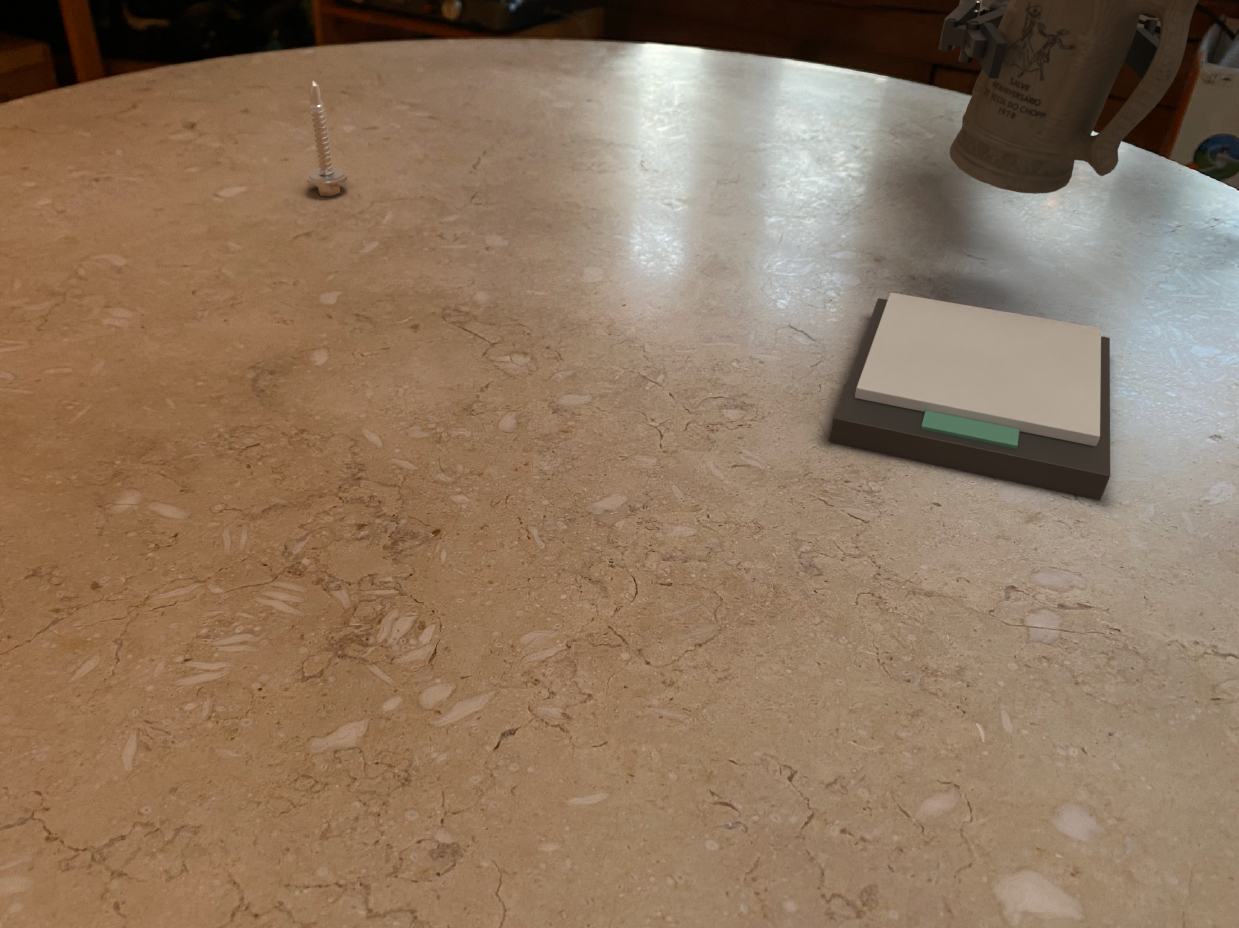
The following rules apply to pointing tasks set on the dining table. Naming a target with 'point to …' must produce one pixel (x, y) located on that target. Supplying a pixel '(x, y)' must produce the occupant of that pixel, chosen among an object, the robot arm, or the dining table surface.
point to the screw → (323, 149)
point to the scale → (982, 394)
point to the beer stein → (1063, 90)
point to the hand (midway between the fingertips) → (1077, 64)
